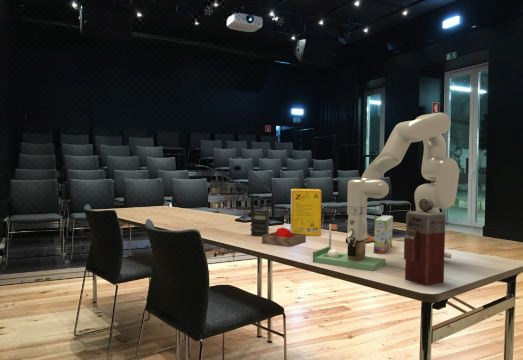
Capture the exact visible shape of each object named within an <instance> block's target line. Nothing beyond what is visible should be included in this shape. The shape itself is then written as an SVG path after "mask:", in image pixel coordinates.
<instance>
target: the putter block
mask: <svg viewBox="0 0 523 360" xmlns="http://www.w3.org/2000/svg"><path fill="white" fill-rule="evenodd" d="M353 242H354V241H353ZM365 243H366V241H362V240H361V241H358V240H357V241H356V244H355V246H356V256H355V257H352V256H348V260H355V261H361V260H363V259H365V256H366V244H365Z"/></svg>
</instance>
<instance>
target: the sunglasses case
mask: <svg viewBox="0 0 523 360" xmlns="http://www.w3.org/2000/svg"><path fill="white" fill-rule="evenodd" d="M365 241H366V243H365V245H367V244H374V236H372V235H370V234H369V233H368V232H367V238H366V239H365ZM345 243H346V244H347V237H345Z"/></svg>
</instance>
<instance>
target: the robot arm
mask: <svg viewBox="0 0 523 360" xmlns="http://www.w3.org/2000/svg"><path fill="white" fill-rule="evenodd" d="M451 123H452V122H451V118H450V116H449V115H448V114H447V113H444V112H435V113H433V112H432V113H429V114H427V113H426V114H422V115H420V116H417V117H416V118H415V119H414V120H407V121H403V122H399V123H397V124H396V125H395V127H394V128H393V130H392V131H391V133H390V135H389V136H388V139H387V141H386V142H385V145H384V147H383V149H382V150H381V152H380V154H378V156H376V157H375V159H374V160H373V161H371V163H370V164H369V165H368V166H367V167H366V168H365V170H364V172H363V173H362V175H361V178H360V179H350V180H348V183H347V201H346V202H347V206H346V207H347V212H346V213H347V214H346V215H348V218H347V231H346V233H347V234H346V238H347V243H346V245H347V253H346V254H347V255H348V256H352V257H355V256H356V246H355V244H356V241H357V240H358V241H361V240H362V241H365V239H366V238H367V233H368V222H367V221H368V220H367V215H368V214H367V213H368V198H372V199H383V198H385V197H386V196H387V195H388V194H389V190H390V187H389V184H388V183H387V182H386V181H385V180H383V179H381V178H382V176H383V175H384V174H385V173H386V172H387V171H389V170H391V169H392V168H395V167H397V166H398V165H399V164H400V163H401V162H402V160H403V158H404V157H405V155H406V153H407V150H408V149H409V147H410V145H411V144H412V143H417V142H423V155H422V161H421V162H422V163H421V175H422V177H423V178H424V180H427V181H434V182H435V183H423V184H421V185H419V186H417V187H416V189H415V191H414V197H413V198H414V203H415V211H422V210H421V209H420V208H419V201H420V200H421V199H424V198H429V199H431V200H432V202H433V208H432V209H431V210H430V211H432V212H440V209H442V210H443V209H446V210H447V209H449V208H451V207H452V206H453V205H454V203H456V202H455V201H456V199H457V198H456V197H457V194H458V193H457V192H458V186H459V179H460V167H459V165H458V163H457V161H456V160H455V159H454V158H452V157H446V152H447V143H446V140H445V138H444V134H445V133H447V132H448V131H449V129H450V128H451V125H452V124H451ZM353 241H354V242H353ZM445 258H446V259H452V253H449V252H444V259H445Z"/></svg>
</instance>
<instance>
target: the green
mask: <svg viewBox="0 0 523 360" xmlns="http://www.w3.org/2000/svg"><path fill="white" fill-rule="evenodd" d="M328 225H329V227H328V228H329V229H328V230H329V231H328V233H329V234H328V246H326V247H323V248H320V249H317V250H315V251H312V263H316V264H317V263H318V264H323V263H324V265H330V264H331V266H337V267H345V268H350V267H351V268H352V269H358V270H364V271H371V272H374V271H376V270H378V269H379V268H382V267H383V266H384V265H386V258H382V257H376V256H375V257H373V256H367V255H365V259H363V260H361V261H355V260H348V255H347V253H342V252H338V253H339V258H331V257H327V253H328V251H329V250H331V249H332V230H338V224H333V223H329V224H328ZM351 268H350V269H351Z"/></svg>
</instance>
